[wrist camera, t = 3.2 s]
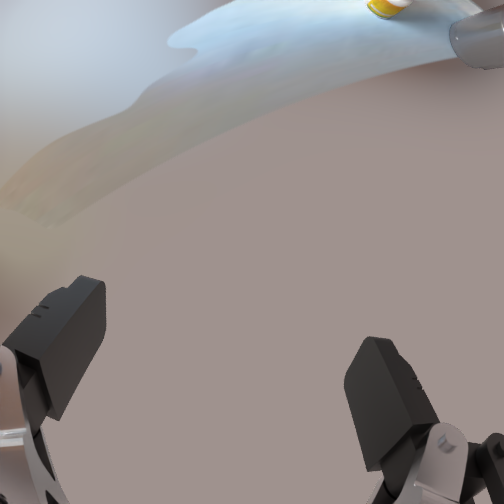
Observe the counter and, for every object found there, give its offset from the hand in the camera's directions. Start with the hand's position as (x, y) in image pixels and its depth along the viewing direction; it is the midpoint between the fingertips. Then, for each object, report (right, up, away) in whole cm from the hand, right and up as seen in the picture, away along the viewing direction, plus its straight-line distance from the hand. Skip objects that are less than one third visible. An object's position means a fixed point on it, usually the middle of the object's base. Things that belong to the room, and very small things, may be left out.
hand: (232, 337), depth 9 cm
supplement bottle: (+20, +41, +25) cm, 52 cm away
